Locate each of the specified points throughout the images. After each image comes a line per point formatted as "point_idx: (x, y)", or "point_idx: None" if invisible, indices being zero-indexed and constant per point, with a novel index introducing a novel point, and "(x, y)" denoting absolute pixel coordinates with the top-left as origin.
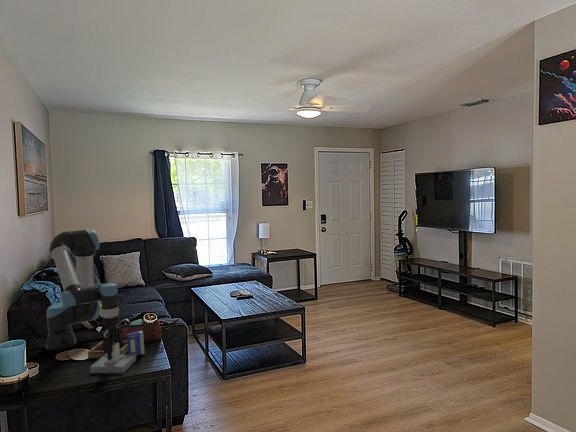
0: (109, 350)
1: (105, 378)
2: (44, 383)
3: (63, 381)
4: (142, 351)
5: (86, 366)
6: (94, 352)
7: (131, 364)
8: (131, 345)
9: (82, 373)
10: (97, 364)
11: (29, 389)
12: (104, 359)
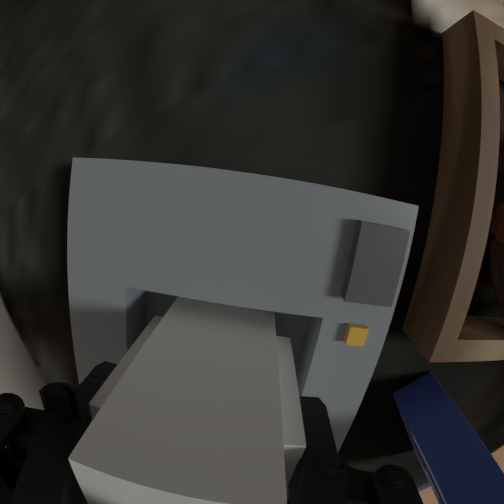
0: (19, 465)
1: (33, 320)
2: None
3: (27, 40)
4: (418, 457)
5: (267, 53)
6: (475, 70)
7: None
8: (431, 471)
9: (111, 89)
10: (120, 216)
11: None
12: (264, 250)
